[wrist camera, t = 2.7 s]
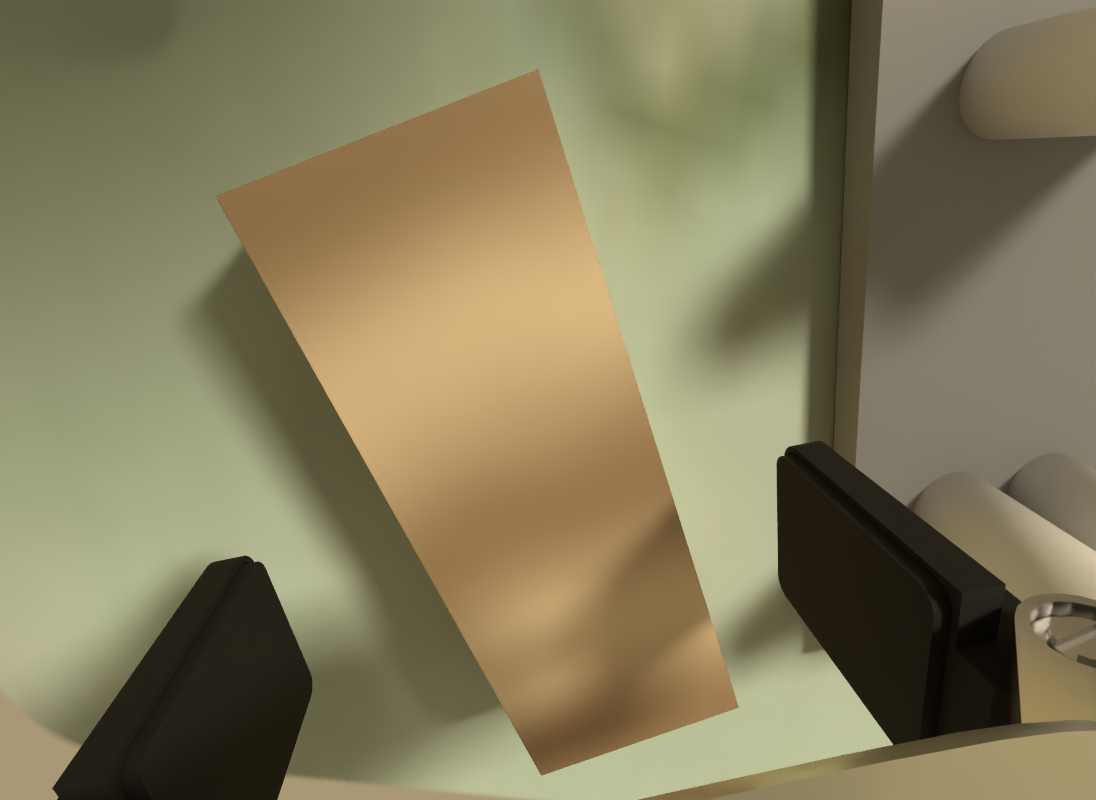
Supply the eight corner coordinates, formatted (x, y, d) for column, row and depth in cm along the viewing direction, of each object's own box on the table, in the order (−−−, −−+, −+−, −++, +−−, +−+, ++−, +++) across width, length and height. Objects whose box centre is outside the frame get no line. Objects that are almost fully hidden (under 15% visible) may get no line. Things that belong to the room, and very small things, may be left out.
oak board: (297, 185, 12) (215, 196, 8) (520, 97, 12) (537, 69, 8) (529, 646, 18) (541, 775, 14) (684, 591, 17) (738, 707, 14)
